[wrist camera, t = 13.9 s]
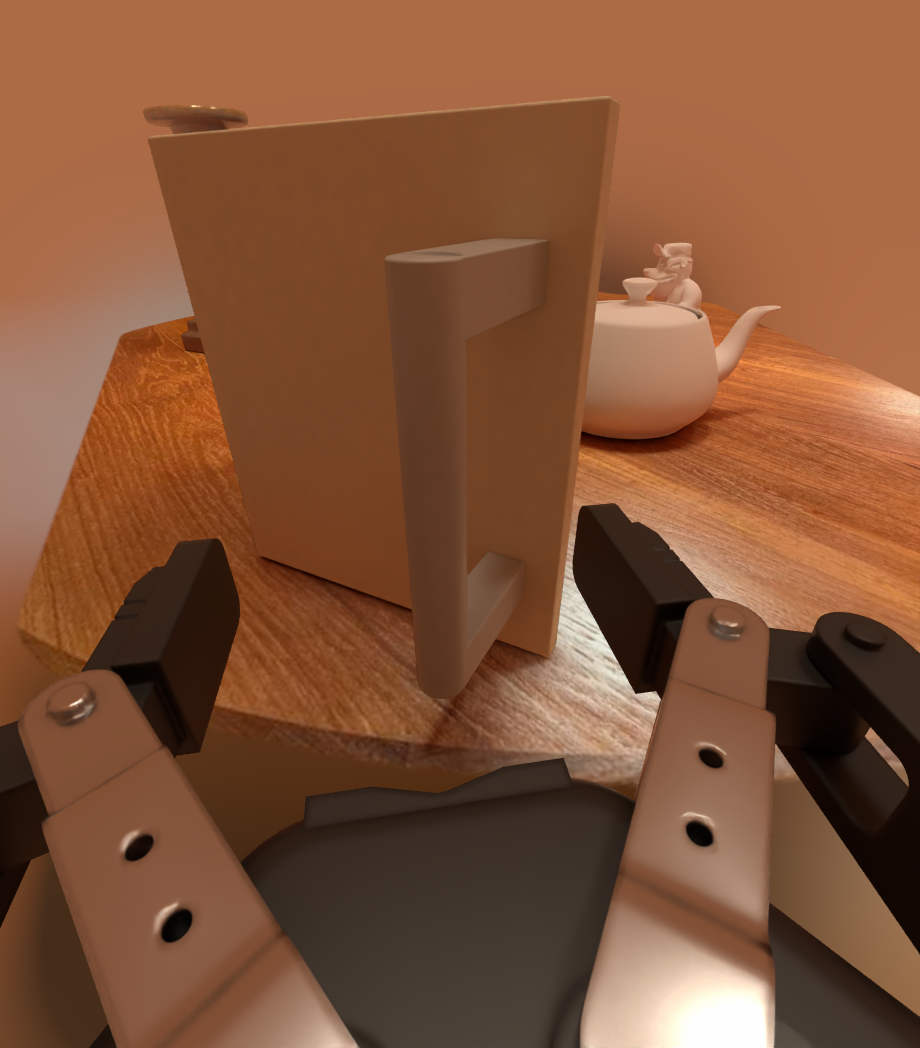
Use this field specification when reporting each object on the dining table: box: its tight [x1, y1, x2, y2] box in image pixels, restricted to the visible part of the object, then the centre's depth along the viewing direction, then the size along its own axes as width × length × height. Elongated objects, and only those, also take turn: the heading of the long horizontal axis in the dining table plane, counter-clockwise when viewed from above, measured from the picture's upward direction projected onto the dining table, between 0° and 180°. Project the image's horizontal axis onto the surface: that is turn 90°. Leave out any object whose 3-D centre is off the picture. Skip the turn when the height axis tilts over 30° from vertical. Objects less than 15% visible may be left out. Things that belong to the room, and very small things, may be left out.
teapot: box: [581, 278, 780, 439], centre depth 41 cm, size 22×14×11 cm, turn 97°
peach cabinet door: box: [148, 96, 620, 699], centre depth 18 cm, size 7×16×18 cm, turn 63°
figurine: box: [643, 243, 702, 311], centre depth 53 cm, size 9×7×12 cm
